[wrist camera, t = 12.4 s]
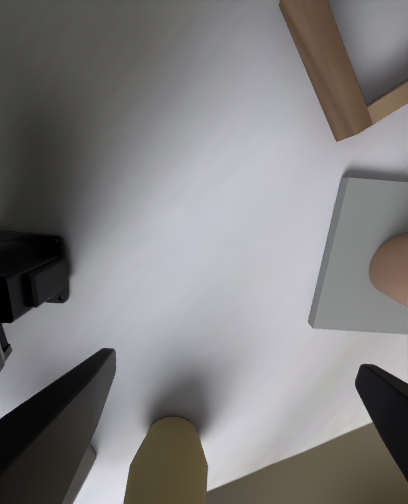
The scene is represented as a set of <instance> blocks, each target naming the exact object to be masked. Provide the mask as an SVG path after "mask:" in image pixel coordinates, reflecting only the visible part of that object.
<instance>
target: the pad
mask: <svg viewBox="0 0 408 504" xmlns="http://www.w3.org/2000/svg"><path fill="white" fill-rule="evenodd" d="M403 233H408V182H398V181H386V180H375V179H363V178H351V177H347V178H341V182H340V186H339V190H338V195H337V199H336V203H335V208H334V212H333V216H332V221H331V225H330V229H329V234H328V238H327V242H326V247H325V251H324V255H323V260H322V264H321V268H320V273H319V277H318V281H317V286H316V290H315V294H314V299H313V303H312V307H311V312H310V316H309V320H308V323H309V324H310V326H311V327H312V328H315V329H331V330H347V331H363V332H379V333H395V334H408V308H407V307H405V306H404V305H402V304H400V303H398V302H397V301H395V300H393V299H391V298H390V297H388V296H386V295H384V294H383V293H381V292H379V291H378V290H376V289H375V288H374V286H373V285H372V283H371V281H370V278H369V265H370V261H371V259H372V257H373V255H374V253H375V252H376V250H377V249H378V248H379V247H380V246H381V245H382V244H383V243H384V242H386V241H387V240H388V239H390V238H392V237H394V236H396V235H399V234H403Z"/></svg>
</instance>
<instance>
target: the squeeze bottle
mask: <svg viewBox="0 0 408 504" xmlns="http://www.w3.org/2000/svg"><path fill="white" fill-rule="evenodd" d="M207 473H208V465H207V461H206V458H205V455H204V451H203V448H202V445H201V441H200V438H199V435H198V432H197V430H196V428H195V426H194V425H193V424H192V423H191V422H189V421H188V420H186V419H183V418H180V417H166V418H163V419H159V420H158V421H156V422H155V423H154V424H152V426H151V428H150V429H149V431H148V433H147V435H146V437H145V438H144V440H143V442H142V444H141V446H140V447H139V449H138V451H137V453H136V455H135V457H134V459H133V460H132V462H131V464H130V468H129V474H128V480H127V486H126V491H125V497H124V503H123V504H206V491H207Z"/></svg>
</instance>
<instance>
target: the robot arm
mask: <svg viewBox="0 0 408 504" xmlns="http://www.w3.org/2000/svg"><path fill="white" fill-rule="evenodd" d="M55 239H56V240H57V241H58V243H56V242H55ZM60 296H62V297H63V299H62V298H61V297H60ZM67 300H68V274H67V263H66V259H65V254H64V243H63V239H62V237H61V236H59V235H49V234H36V233H22V232H9V231H0V371H1V370H2V368H3V366H4V365H5V361H6V359H7V358H8V356H9V355H10V353H11V352H12V348H11V345H10V344H8V342H7V339H6V336H5V333H4V330H3V327H2V324H3V323H12V322H14V321H15V320H17V319H18V318H19V317H21V316H22V315H24V314H25V313H27V312H28V311H30V310H31V309H32V308H37V307H39V306H40V305H41V304H43V303H44V302H49V303H64V302H66V301H67ZM115 372H116V352H115V349H113V348H103V349H101V350H99V351H98V352H96V353H95V354H94V355H92V356H91V357H89V358H88V359H86V360H85V361H83V362H82V363H80V364H79V365H78V366H76V367H75V368H73V369H72V370H70V371H69V372H67V373H66V374H64V375H63V376H62V377H60V378H59V379H57V380H56V381H54V382H53V383H51V384H50V385H48V386H47V387H46V388H44V389H43V390H41V391H40V392H38V393H37V394H35V395H34V396H32V397H31V398H30V399H28V400H27V401H25V402H24V403H22V404H21V405H19V406H18V407H17V408H15V409H14V410H12V411H11V412H9V413H8V414H6V415H5V416H3V417H2V418H1V419H0V504H62V503H63V501H64V498H65V496H66V494H67V492H68V490H69V487H70V485H71V483H72V481H73V478H74V476H75V474H76V472H77V470H78V467H79V465H80V463H81V461H82V458H83V456H84V454H85V452H86V449H87V447H88V445H89V443H90V441H91V438H92V436H93V434H94V432H95V429H96V427H97V425H98V422H99V419H100V417H101V414H102V411H103V408H104V405H105V402H106V399H107V396H108V393H109V390H110V387H111V385H112V382H113V379H114V376H115ZM355 386H356V389H357V391H358V393H359V395H360V397H361V399H362V401H363V403H364V405H365V407H366V409H367V411H368V413H369V415H370V417H371V419H372V421H373V423H374V425H375V427H376V429H377V431H378V433H379V435H380V437H381V438H382V440H383V442H384V443H385V445H386V447H387V448H388V450H389V452H390V454H391V455H392V457H393V459H394V460H395V462H396V464H397V465H398V467H399V469H400V470H401V472H402V474H403V475H404V477H405V479H406V480H407V482H408V383H406V382H404V381H402V380H400V379H399V378H397V377H395V376H393V375H392V374H390V373H388V372H386V371H385V370H383V369H381V368H379V367H378V366H376V365H373V364H362V365H361V366H360V368H359V371H358V374H357V377H356V380H355Z"/></svg>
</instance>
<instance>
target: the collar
mask: <svg viewBox="0 0 408 504" xmlns="http://www.w3.org/2000/svg"><path fill="white" fill-rule="evenodd" d="M279 7H280V9H281V11H282V14H283V16H284V18H285V21H286V23H287V26H288V28H289V30H290V33H291V35H292V37H293V40H294V42H295V45H296V47H297V49H298V52H299V54H300V57H301V59H302V61H303V64H304V66H305V68H306V71H307V73H308V76H309V78H310V80H311V83H312V85H313V87H314V90H315V92H316V95H317V97H318V99H319V102H320V104H321V106H322V109H323V111H324V114H325V116H326V118H327V121H328V123H329V125H330V128H331V130H332V133H333V135H334V137H335V140H336V142H337V141H340V140H343V139H346V138H348V137H351V136H354V135H357V134H358V133H360V132H362V131H363V130H365V129H366V128H368V127H370V126H371V125H373V124H375V123H376V122H378V121H379V120H381V119H383V118H384V117H386V116H387V115H389V114H391V113H392V112H394V111H395V110H397V109H399V108H400V107H402V106H403V105H405V104H407V103H408V79H407V80H405V81H404V82H402V83H400V84H399V85H397V86H396V87H394V88H393V89H391V90H389V91H388V92H386V93H385V94H383V95H382V96H380V97H378V98H377V99H375V100H374V101H372V102H371V103H369V104H367V105H366V103H365V100H364V98H363V95H362V92H361V90H360V87H359V84H358V82H357V79H356V76H355V74H354V71H353V68H352V66H351V63H350V60H349V57H348V55H347V52H346V49H345V47H344V44H343V41H342V39H341V36H340V33H339V31H338V28H337V25H336V22H335V20H334V17H333V14H332V12H331V9H330V6H329V4H328V1H327V0H281V1H280V3H279Z"/></svg>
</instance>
